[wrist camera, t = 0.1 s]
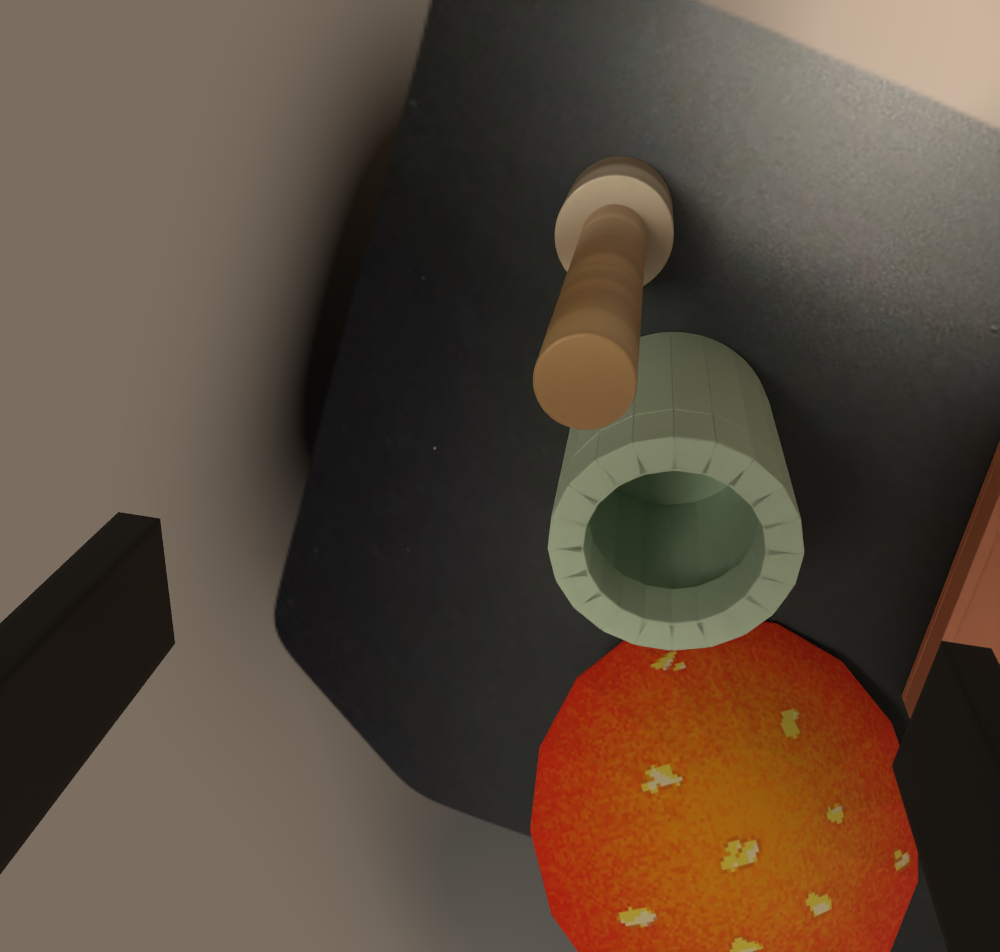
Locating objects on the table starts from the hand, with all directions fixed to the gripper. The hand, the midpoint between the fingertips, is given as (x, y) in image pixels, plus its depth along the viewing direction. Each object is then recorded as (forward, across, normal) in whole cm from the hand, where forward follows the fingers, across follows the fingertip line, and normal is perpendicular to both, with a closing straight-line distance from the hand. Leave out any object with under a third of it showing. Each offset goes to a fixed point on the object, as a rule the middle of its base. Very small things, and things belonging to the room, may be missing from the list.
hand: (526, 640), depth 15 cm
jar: (+30, +4, -9) cm, 31 cm away
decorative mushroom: (+30, +10, -27) cm, 41 cm away
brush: (+30, 0, +1) cm, 30 cm away
